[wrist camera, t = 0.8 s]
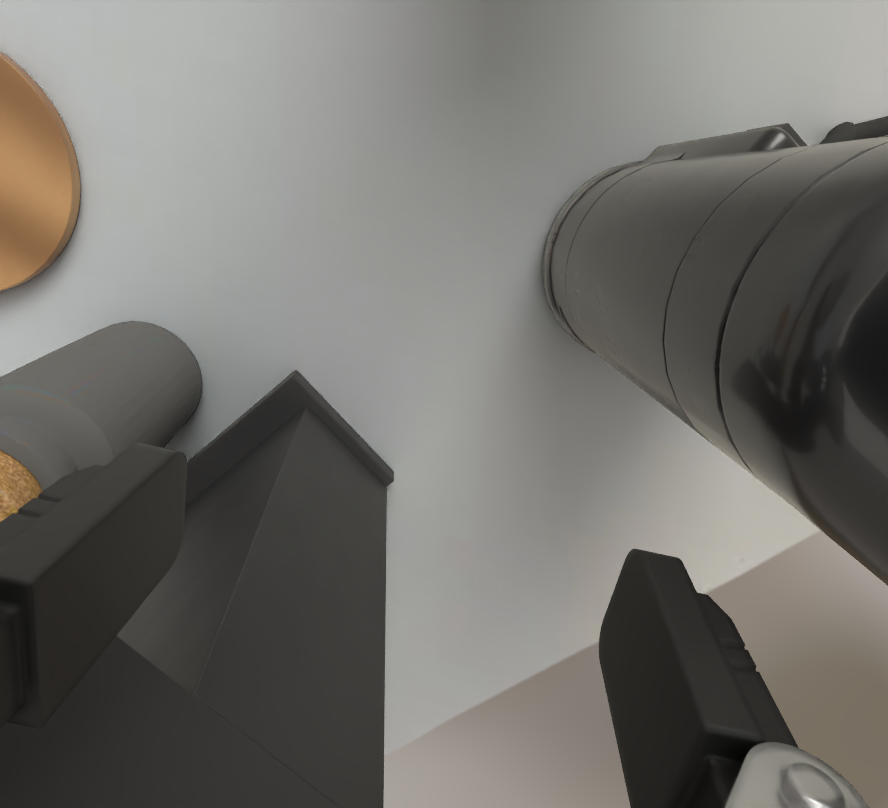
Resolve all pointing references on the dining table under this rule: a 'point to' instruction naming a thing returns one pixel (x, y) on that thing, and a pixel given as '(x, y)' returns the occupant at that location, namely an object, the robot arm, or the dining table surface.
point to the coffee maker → (240, 639)
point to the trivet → (33, 178)
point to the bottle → (92, 405)
